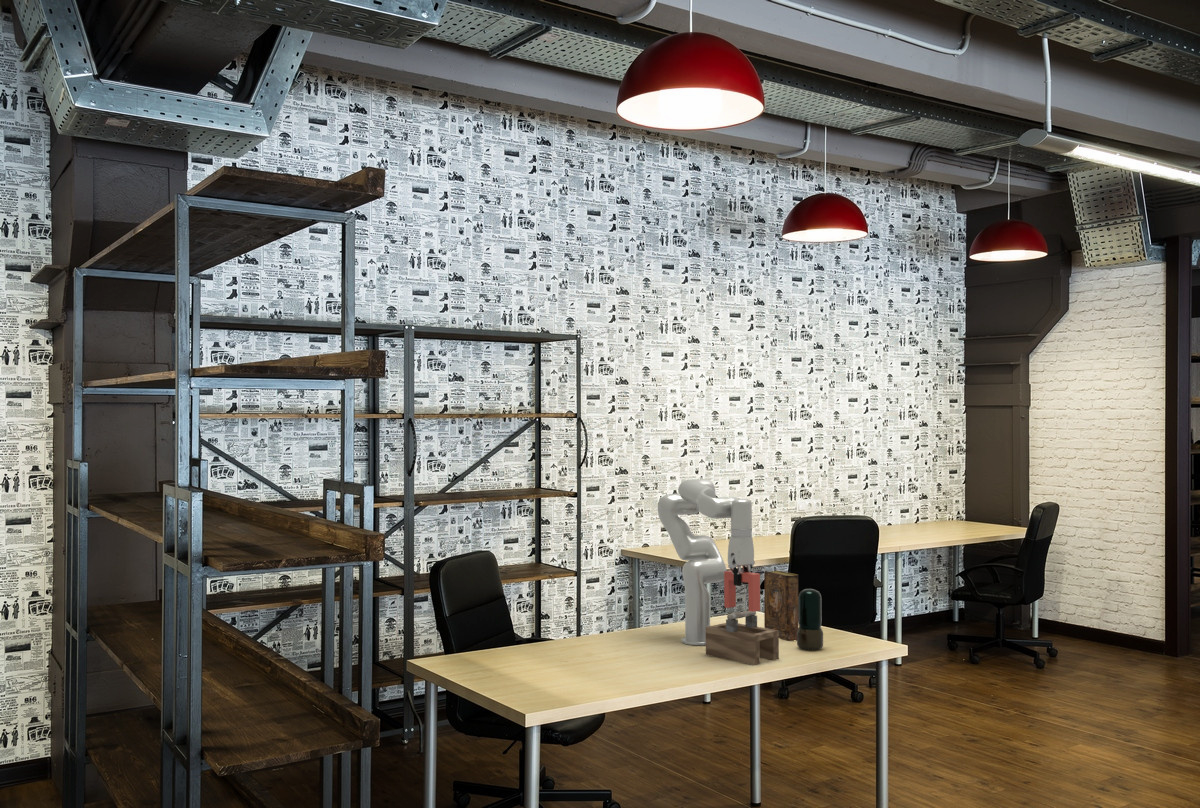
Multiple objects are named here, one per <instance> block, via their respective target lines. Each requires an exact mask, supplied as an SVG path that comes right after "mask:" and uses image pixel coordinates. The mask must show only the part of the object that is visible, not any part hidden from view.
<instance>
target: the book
mask: <svg viewBox="0 0 1200 808" xmlns="http://www.w3.org/2000/svg"><path fill="white" fill-rule="evenodd" d="M763 575H764V577H763V578H764V582H763V583H764V584H763V586H764V589H763V591H764V600H763V601H764V603H763V604H764V607H763V608H764V610H763V611H764V615H763V617H764V620H763V621H764V625H763V626H764V627H763V628H767V629H773V630H779V639H781V640H784V641H788V642H794V640H796V641H797V630H798V628H799V622H798V595H799V574H796V573H791V572H787V571H782V570H778V569H776V570H772V571H769V570H764V574H763Z"/></svg>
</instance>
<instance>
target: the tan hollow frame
mask: <svg viewBox="0 0 1200 808" xmlns="http://www.w3.org/2000/svg"><path fill="white" fill-rule="evenodd" d="M756 614H757V611H755V612H751V611H749V610H745V611H741V612H740V611H739V612H735V613H729V614H727V616H726V618H727V619H725V623H724V622H723V623H719V624H715V625H714V624H713V625H710V626H708V627H706V645H705V656H709V657H714V658H720V659H724V660H729V661H733V662H738V663H740V664H741V663H742V664H747V665H752V666H757V665H760V661H761V660H760V659H765V660H766V659H767V660H771V661H776V660H779V658H780V653H779V651H780V649H779V647H780V645H779V643H780V642H779V639H780V638H779V630H773V629H767V628H764V627H761V626H758V615H756ZM742 618H745V622H744V623H745V624H743V623H739V620H738V619H742Z"/></svg>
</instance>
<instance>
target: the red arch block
mask: <svg viewBox="0 0 1200 808" xmlns="http://www.w3.org/2000/svg"><path fill="white" fill-rule="evenodd" d="M740 574H741V575H742V582H747V583H748V584H747V586H748V611H751V612H755V611H756V612H759V611H761V578H760V577H761V573H757V572H751V573H750V572H743V570H741V572H740ZM723 584H724V585H723V586H724V588H723V589H724V590H723V591H724V593H723V594H724V599H723V601H724V602H723V603H724V608H727V609H729V608H736V607H737V597H736V595H737V592H736V590H737V585H734V574H733V573H732V570H731V569H730V570H727V571H724V580H723Z"/></svg>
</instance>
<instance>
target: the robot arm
mask: <svg viewBox="0 0 1200 808" xmlns="http://www.w3.org/2000/svg"><path fill="white" fill-rule="evenodd" d="M677 491H678V493H669V494H665V495H663V496H660V498H659V500H658V502H657V516H658V518H659V521H660V522H661V524H662V526H663V527H664V529H665V530H666V532H667V533H668V535H669V539H670V540H671V543H672V545H673V548H674V549H675V551H676V554H677V556H678V557H679V559H680V560H682V561H686V562H685V563H684V564H683V566H682V571H681V573H682V579H683V584H684V599H685V600H684V603H685V604H684V610H685V611H684V612H685V613H684V614H685V615H684V618H685V619H684V621H685V623H684V625H685V626H684V628H685V629H684V630H685V631H684V633H685V634H684V635H685V636H684V637H682V638H681V639H680V641H681V643H682V644H685V645H689V646H690V645H691V646H706V627H708V626H711V595H710V592H709V591H708V589H707V587H706V585H707V584H714V583H715V584H717V583H721V582H724V571H728V570H727V568H729V569H730V570H732V573H733V574H734V585H736V587H741V586H742V584H743V585H748V583H747V582H742V575H741V574H740V572H741V571H742V572H750V573H752V569H753V567H754V565H755V564H756V562H755V549H754V548H755V547H754V540H753V522H752V521H753V509H752V508H753V505H752V501H751V500H750V499H748V498H747V499H746V498H739V497H733V496H732V497H731V496H730V497H727V496H726V497H717V493H716V487H715V485H714V483H713V481H711V480H710V479H707V478H700V479H695V478H694V479H686V480H683V481H682V482H681V483H680V484H679V485H678V488H677ZM698 513H700V514H701V515H703V516H705V517H708V518H709V519H730V537H729V540H728V546H727V564H728V565H727V567H726V562H725V561H724V558H723V557H722V554H721V552H720V551H719V550H720V549H719V548H718V546H717V544H716V542H715V541H714V539H713V538H712V537H710V536H709V535H701V534H700V535H694V534H693V532H692V531H691V528H690V526H689V525H688V523H687V522H686V521H685V520H683V518H681V517H680V516H684V515H695V514H698Z"/></svg>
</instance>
